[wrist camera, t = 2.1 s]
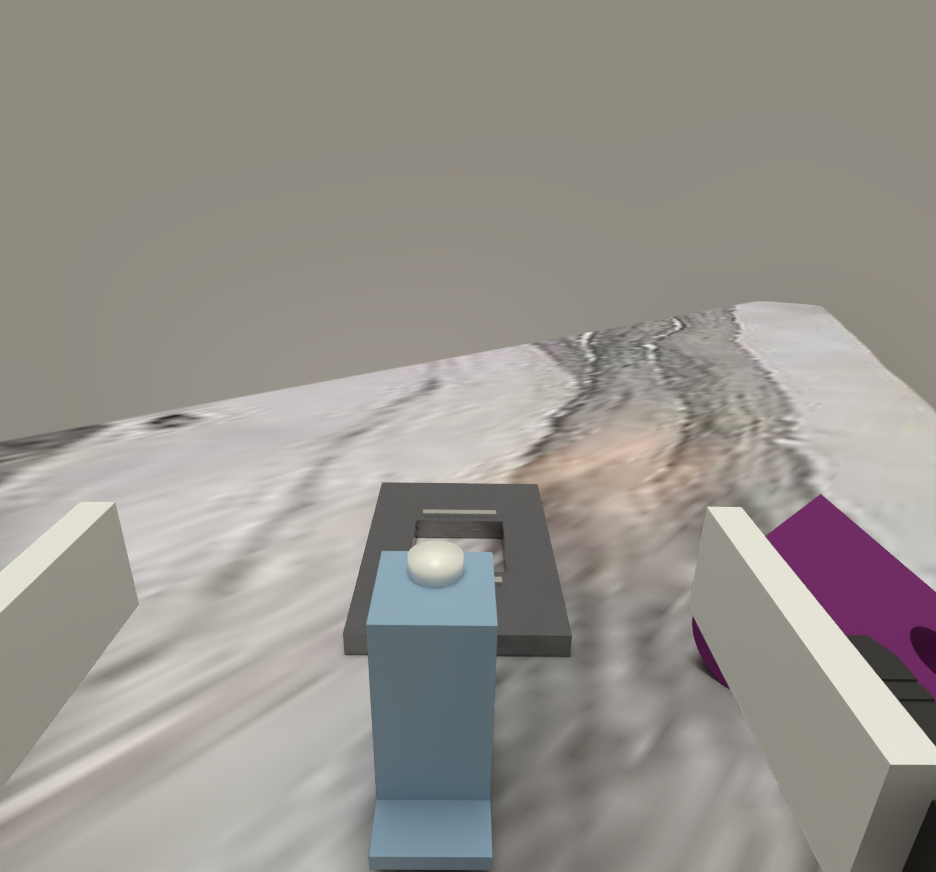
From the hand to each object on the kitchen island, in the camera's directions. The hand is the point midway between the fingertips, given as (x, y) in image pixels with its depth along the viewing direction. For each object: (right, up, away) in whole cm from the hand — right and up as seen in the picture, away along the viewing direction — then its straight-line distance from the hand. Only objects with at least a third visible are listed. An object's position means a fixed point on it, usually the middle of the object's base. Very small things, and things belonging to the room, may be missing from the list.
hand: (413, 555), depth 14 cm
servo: (0, -14, +17) cm, 22 cm away
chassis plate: (+1, -7, +34) cm, 35 cm away
